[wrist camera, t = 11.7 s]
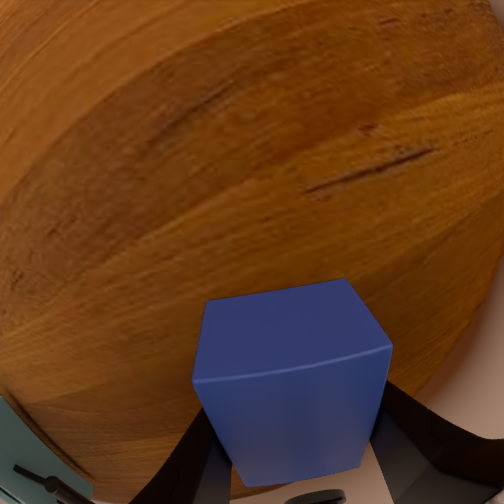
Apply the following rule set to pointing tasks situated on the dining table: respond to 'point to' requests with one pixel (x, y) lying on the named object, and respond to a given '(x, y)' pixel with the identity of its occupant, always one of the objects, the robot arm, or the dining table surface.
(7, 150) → the dining table surface
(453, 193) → the dining table surface
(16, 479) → the drawer
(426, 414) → the robot arm
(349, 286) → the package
